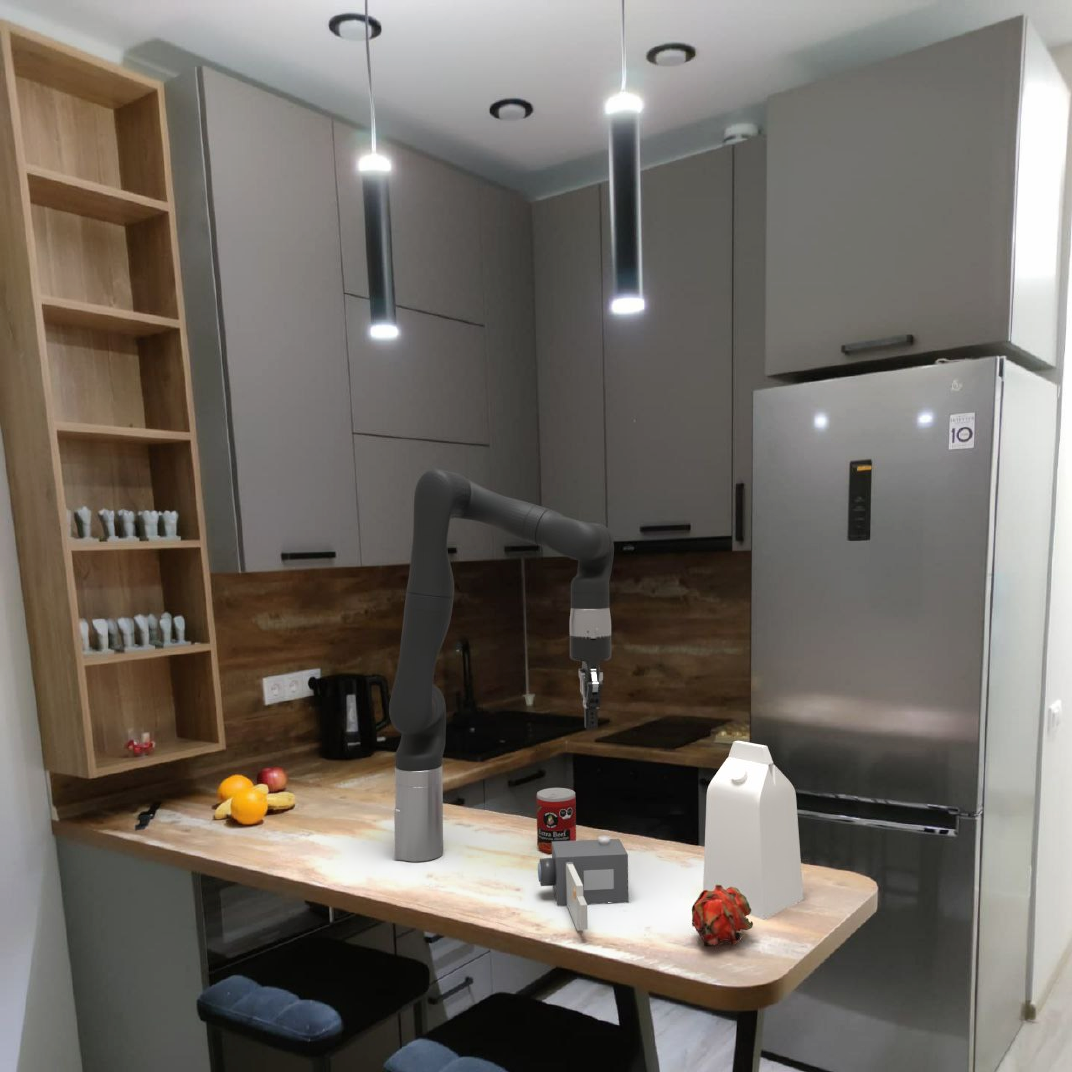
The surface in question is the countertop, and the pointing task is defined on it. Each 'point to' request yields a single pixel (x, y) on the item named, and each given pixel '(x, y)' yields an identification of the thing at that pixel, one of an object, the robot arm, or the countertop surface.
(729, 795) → the milk
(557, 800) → the canned food
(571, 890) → the side door
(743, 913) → the dragon fruit
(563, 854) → the camera body
